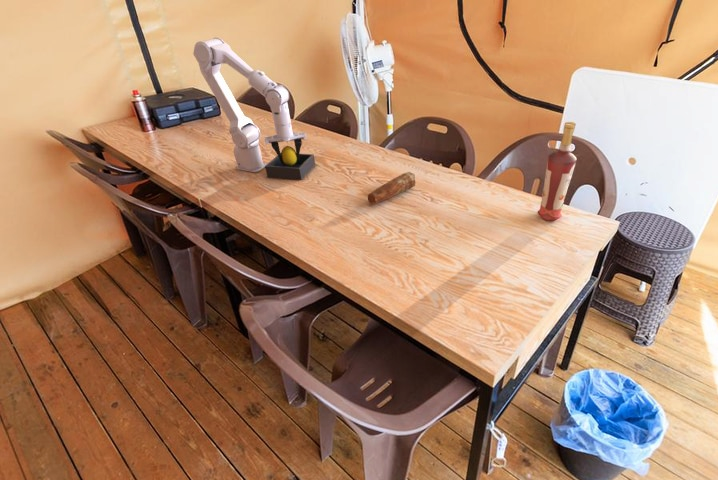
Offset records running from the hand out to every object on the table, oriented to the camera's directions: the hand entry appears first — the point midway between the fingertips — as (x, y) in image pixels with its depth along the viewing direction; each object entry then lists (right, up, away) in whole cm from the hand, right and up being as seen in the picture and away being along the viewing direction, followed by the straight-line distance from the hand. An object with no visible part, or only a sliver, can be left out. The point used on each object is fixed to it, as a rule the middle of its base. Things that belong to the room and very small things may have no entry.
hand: (289, 160), depth 150 cm
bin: (0, -3, +3) cm, 4 cm away
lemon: (0, -2, +2) cm, 3 cm away
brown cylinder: (+39, -16, -15) cm, 45 cm away
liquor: (+86, -25, -29) cm, 94 cm away
